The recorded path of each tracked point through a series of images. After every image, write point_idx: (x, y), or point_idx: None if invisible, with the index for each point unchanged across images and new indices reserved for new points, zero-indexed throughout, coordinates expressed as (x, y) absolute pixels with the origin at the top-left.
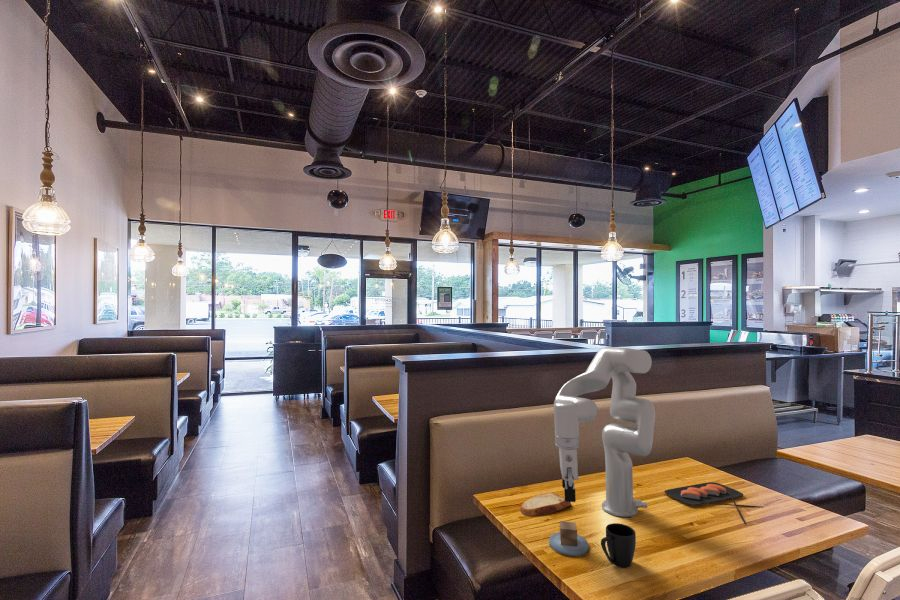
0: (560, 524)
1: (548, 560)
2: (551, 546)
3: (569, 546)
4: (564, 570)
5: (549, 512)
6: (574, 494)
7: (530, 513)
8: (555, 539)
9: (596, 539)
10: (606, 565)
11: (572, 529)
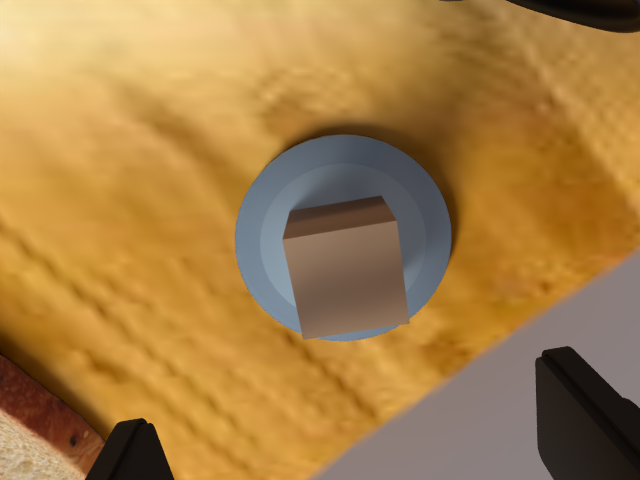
0: (351, 330)
1: (511, 313)
2: None
3: None
4: (582, 236)
5: (21, 371)
6: (631, 421)
7: None
8: None
9: (210, 91)
10: (488, 22)
11: (397, 251)
